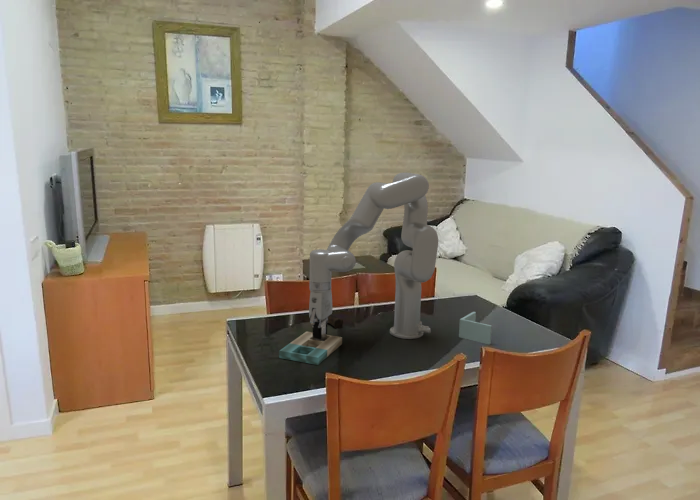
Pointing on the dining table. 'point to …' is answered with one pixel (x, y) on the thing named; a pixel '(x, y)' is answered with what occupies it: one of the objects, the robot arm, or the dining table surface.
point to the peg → (323, 326)
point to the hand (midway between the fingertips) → (319, 335)
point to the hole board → (310, 348)
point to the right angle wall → (474, 329)
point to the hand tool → (335, 321)
